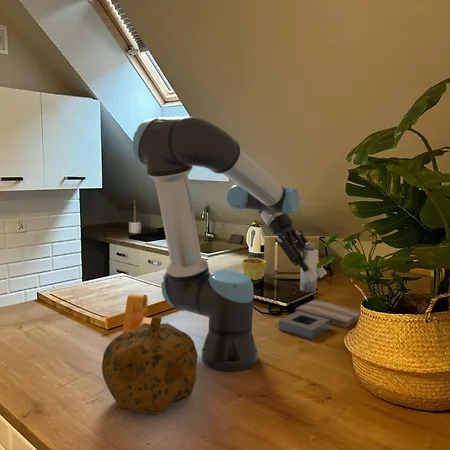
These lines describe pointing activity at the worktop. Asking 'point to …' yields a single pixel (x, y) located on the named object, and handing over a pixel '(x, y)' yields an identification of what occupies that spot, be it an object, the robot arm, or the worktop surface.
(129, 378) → the decorative pumpkin
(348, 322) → the board
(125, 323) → the bracket
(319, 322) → the socket block
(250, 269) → the plant pot
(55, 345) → the worktop surface
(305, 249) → the clear bottle
